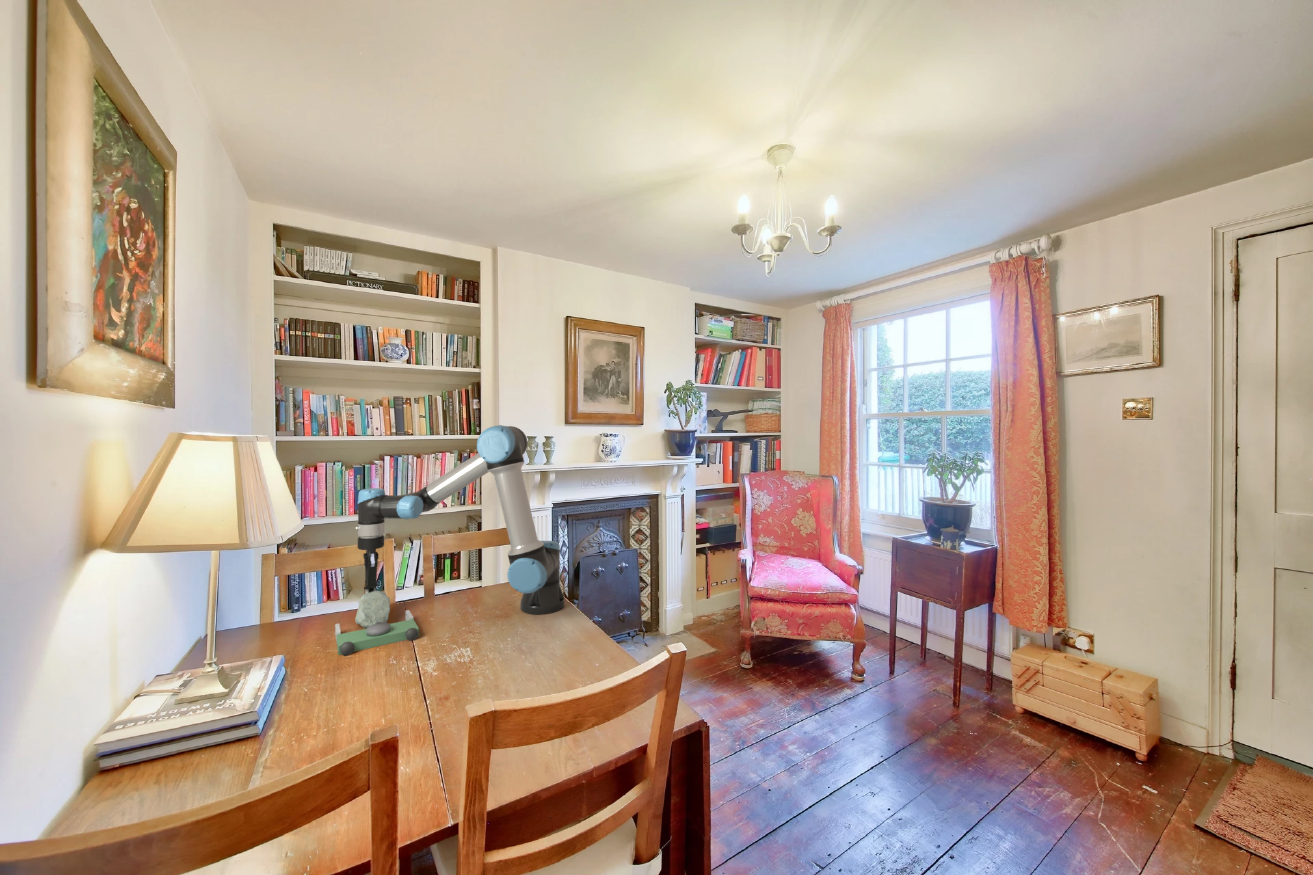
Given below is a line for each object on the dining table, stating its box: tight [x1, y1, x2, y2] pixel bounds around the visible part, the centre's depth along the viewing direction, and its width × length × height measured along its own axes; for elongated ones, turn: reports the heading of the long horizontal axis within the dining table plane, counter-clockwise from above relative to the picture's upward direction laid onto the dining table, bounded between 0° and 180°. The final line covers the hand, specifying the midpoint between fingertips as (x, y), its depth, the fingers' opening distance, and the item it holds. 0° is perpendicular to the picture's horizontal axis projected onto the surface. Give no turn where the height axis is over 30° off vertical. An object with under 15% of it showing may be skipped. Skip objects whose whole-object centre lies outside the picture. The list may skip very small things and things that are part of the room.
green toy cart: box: [334, 609, 420, 656], centre depth 141 cm, size 20×19×4 cm
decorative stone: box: [354, 590, 391, 629], centre depth 150 cm, size 13×11×10 cm
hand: (370, 607), depth 155 cm, fingers closed
